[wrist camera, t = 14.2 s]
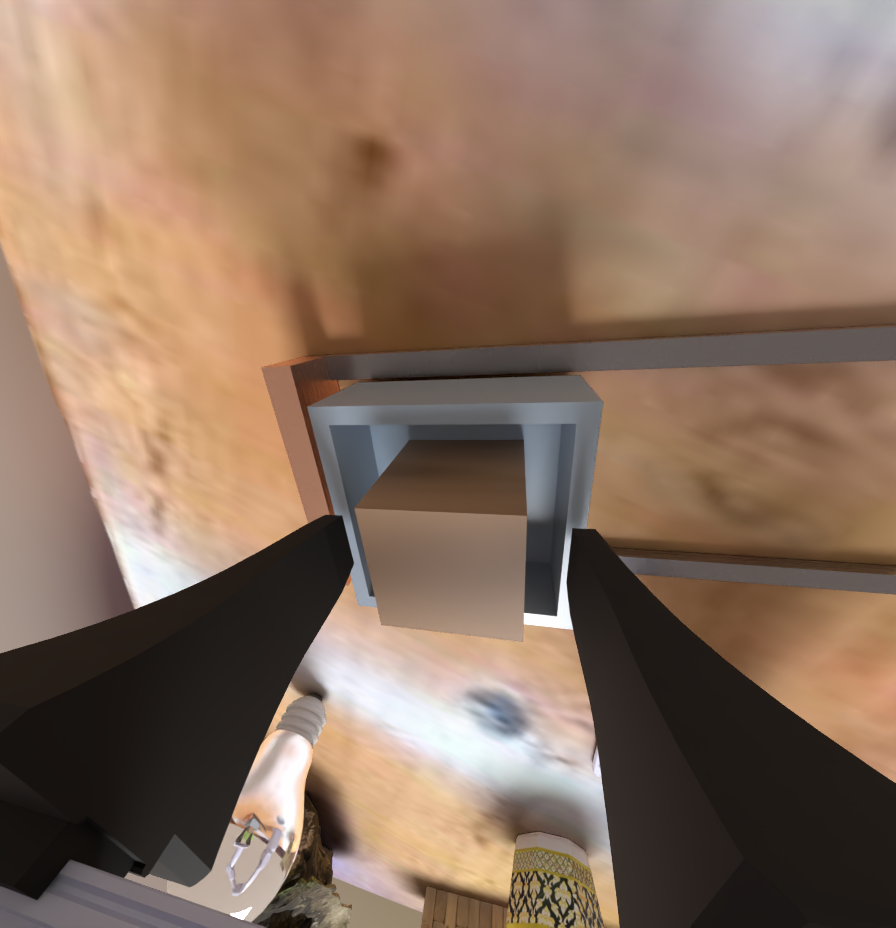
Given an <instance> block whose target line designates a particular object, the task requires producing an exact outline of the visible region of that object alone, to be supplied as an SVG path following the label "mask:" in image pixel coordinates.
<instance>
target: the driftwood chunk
mask: <svg viewBox="0 0 896 928" xmlns="http://www.w3.org/2000/svg"><path fill="white" fill-rule="evenodd" d="M307 796H308V795H307V794H306V790H305V794H304V822H303V831H302V836H301V841H300V845H299V848H298V851H297V854H296V857H295V860H294V863H293V865H292V867H291V869H290V871H289V873H288V876H287V878H286V880H285V882H284V883H283V885H282V886H281V888H280V890H279V891H278V893H277V894H276V896H275V898H274V899H273V900H272V901H271V902H270V904H269V905H268V906H267V907H266V909H265V910H264V911H263V912H262V913H261V914H260V915H259V916H258V917H257V918H256V919H255V920H254V921H253V922H252V923H255V924H257V925H260V926H263V927H266V928H347V924H348V923H349V916H350V911H351V909H352V905H349V906H346V905H345V904H341V902H340V896H339V894H337V893H334V891H335V890H336V886H335V885H334V884H332V875H333V870H332V857H333V853H332V852H331V851H330V850H329V849H328V848H326V847H324V846H322V844H321V839H320V832H321V828H320V826H319V817H318V814H317V811H316V809H315V808H314V806H313V805H312V803H311V800H310V799H309V798H308V797H307Z"/></svg>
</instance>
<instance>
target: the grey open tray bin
mask: <svg viewBox="0 0 896 928" xmlns="http://www.w3.org/2000/svg"><path fill="white" fill-rule="evenodd" d="M602 407H603V401H602V400H601V398H600V397H599V396H598V395H597V394H596V393H595V391H594V390H593V389H592V388H591V387H590V386H589V385H588V383H587V382H586V381H585V380H584V379H583V378H582V377H581V375H566V376H536V377H506V378H477V379H447V380H417V381H388V382H358V383H355V384H353V385H351V386H349V387H347V388H345V389H343V390H341V391H339V392H337V393H335V394H333V395H331V396H328V397H326V398H324V399H322V400H320V401H318V402H316V403H314V404H312V405H310V406H308V407H307V408H308V412H309V416H310V420H311V424H312V428H313V432H314V435H315V439H316V443H317V447H318V451H319V455H320V459H321V463H322V466H323V470H324V474H325V478H326V482H327V486H328V490H329V494H330V497H331V501H332V505H333V509H334V513H335V515H342V516H343V520H344V524H345V528H346V532H347V536H348V541H349V545H350V549H351V553H352V557H353V561H354V565H353V568H352V570H351V573H350V575H351V579H352V583H353V586H354V590H355V594H356V598H357V602H358V605H360V606H369V607H377V604H376V599H375V595H374V591H373V586H372V582H371V578H370V573H369V569H368V565H367V560H366V556H365V552H364V547H363V543H362V539H361V535H360V530H359V526H358V522H357V517H356V513H355V509H354V508H355V507H356V506H357V504H358V503H359V502H360V501H361V499H362V498H363V497H364V496H365V494H366V493H367V492H368V491H369V489H370V488H371V487H372V486H373V484H374V483H375V482H376V481H377V479H378V478H379V477H380V476H381V474H382V473H383V472H384V471H385V469H386V468H387V467H388V466H389V464H390V463H391V462H392V461H393V460H394V458H395V457H396V456H397V455H398V453H399V452H400V451H401V450H402V448H403V447H404V446H405V445H406V443H407V442H408V441H409V440H524V453H525V477H526V501H527V535H526V566H525V598H524V624H528V625H537V626H545V627H554V628H563V629H572V630H573V627H572V622H571V618H570V611H569V602H568V593H567V584H566V580H567V571H568V562H569V553H570V544H571V535H572V528H580V529H586V527H587V520H588V512H589V505H590V497H591V490H592V482H593V475H594V467H595V460H596V452H597V445H598V437H599V430H600V422H601V415H602Z"/></svg>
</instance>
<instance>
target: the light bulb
mask: <svg viewBox="0 0 896 928" xmlns="http://www.w3.org/2000/svg"><path fill="white" fill-rule="evenodd" d="M281 720H282V721H280V722H279V723H278V724H277V727H276V728H277V730H275V731H274V732H273V733H271V734H270V735H269V736H268V737H267V738H266V739H265V740H264V742H263V743H262V744H261V746H260V748H259V751H258V753H257V756H256V758H255V760H254V763H253V765H252V768H251V770H250V772H249V775H248V777H247V779H246V782H245V784H244V787H243V789H242V791H241V794H240V796H239V799H238V802H237V804H236V807H235V809H234V812H233V815H232V817H231V820H230V823H229V825H228V828H227V830H226V833H225V836H224V838H223V841H222V843H221V846H220V849H219V851H218V854H217V857H216V860H215V863H214V865H213V868H212V871H211V872H210V873H209V874H208V875H207V876H206V877H205V878H204V879H202V880H201V881H200V882H199V883H197V884H196V885H194V886H192V887H187V886H184V885H181V884H178V883H175V882H172V881H169V880H168V883H167V893H168V894H171V895H174V896H177V897H180V898H183V899H185V900H188V901H191V902H194V903H197V904H200V905H203V906H206V907H209V908H211V909H214V910H217V911H220V912H223V913H226V914H229V915H232V916H234V917H237V918H240V919H243V920H246V921H249V922H253V921H254V920H255V919H256V918H257V917H258V916H259V915H260V914H261V913H262V912H263V911H264V910H265V909H266V907H267V906H268V905H269V904H270V902H271V901H272V900H273V899H274V898H275V896H276V894H277V893H278V891H279V890H280V888H281V886H282V885H283V883H284V882H285V880H286V878H287V876H288V873H289V871H290V869H291V867H292V865H293V863H294V860H295V857H296V854H297V851H298V848H299V845H300V841H301V836H302V831H303V822H304V794H305V783H306V778H307V774H308V771H309V768H310V765H311V761H312V756H313V745H314V744H316V742H317V741H318V735H320V734H321V732H322V727H323V726H324V725H325V723H326V714H325V709H324V705H323V703H322V698H321V697H320V696H319V695H317V694H313V693H311V694H309V695H307V696H303V697H301V698H299V699H297V700H295V701H293V702H292V704H290V705H289V706H288V707H287V709H286V713H284V714H283V716H282V718H281Z"/></svg>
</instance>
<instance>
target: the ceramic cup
mask: <svg viewBox="0 0 896 928" xmlns="http://www.w3.org/2000/svg"><path fill="white" fill-rule="evenodd" d="M505 928H604V925H603V920H602V916H601V912H600V908H599V904H598V900H597V896H596V892H595V887H594V883H593V878H592V874H591V870H590V866H589V862H588V858H587V855H586V853H585V850H583V849H582V848H580V847H579V846H578V845H576V844H575V843H573V842H572V841H570V840H569V839H567V838H563V837H559V836H555V835H551V834H546V833H542V832H533V833H527V834H521V835H518V837H517V839H516V845H515V853H514V861H513V872H512V879H511V887H510V896H509V904H508V911H507V918H506V925H505Z"/></svg>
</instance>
